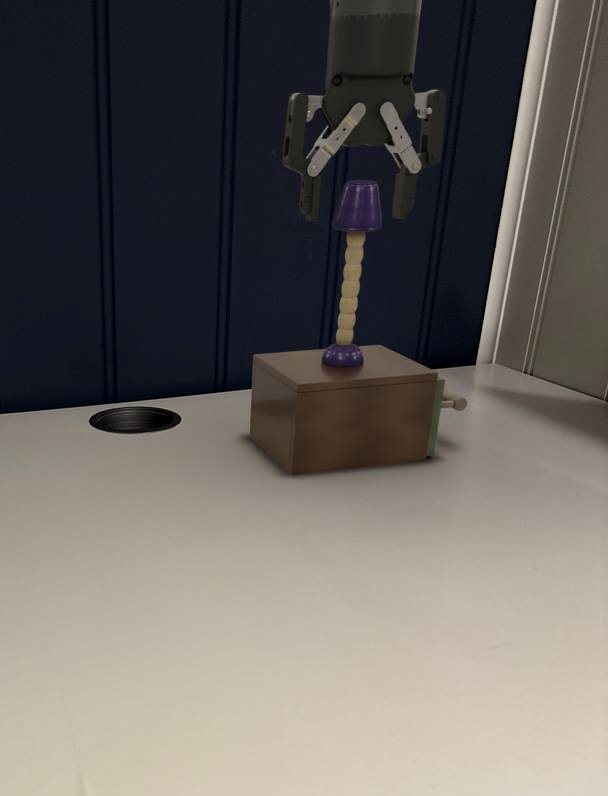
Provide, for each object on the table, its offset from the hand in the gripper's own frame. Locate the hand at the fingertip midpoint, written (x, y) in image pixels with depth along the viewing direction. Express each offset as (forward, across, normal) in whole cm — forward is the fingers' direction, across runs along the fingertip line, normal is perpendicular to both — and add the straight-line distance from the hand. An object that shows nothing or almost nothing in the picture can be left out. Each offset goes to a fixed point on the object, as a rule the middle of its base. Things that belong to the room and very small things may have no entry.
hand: (355, 219), depth 88 cm
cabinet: (+23, 0, 0) cm, 23 cm away
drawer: (+22, +4, 0) cm, 22 cm away
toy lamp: (+14, 0, 0) cm, 14 cm away
